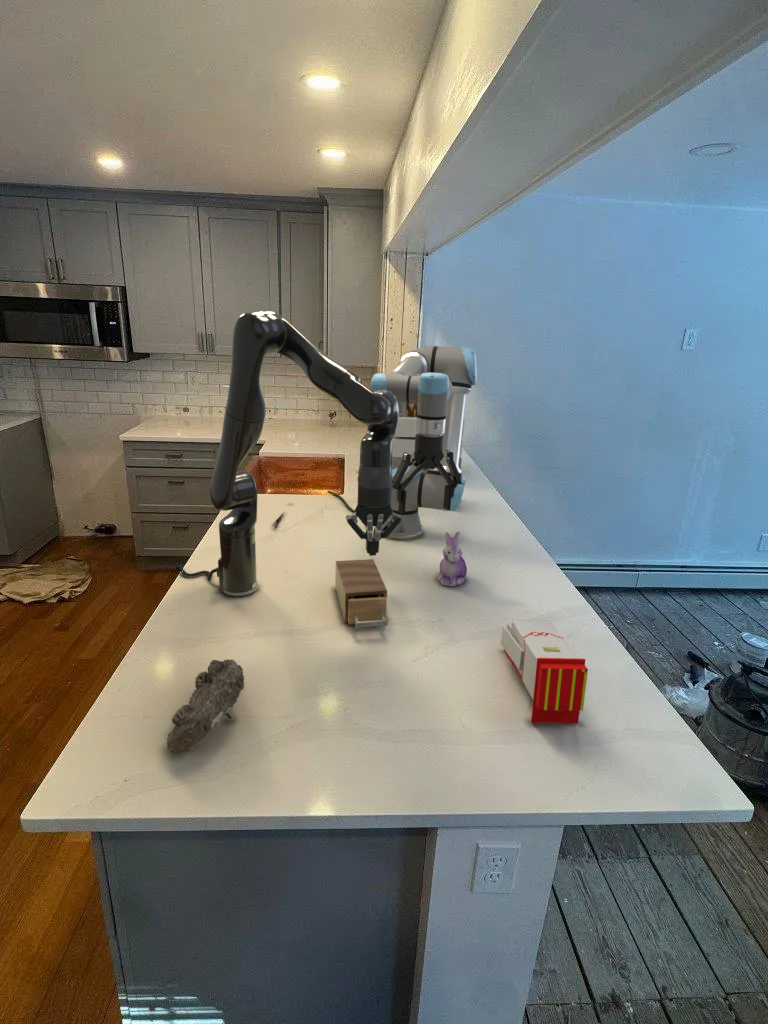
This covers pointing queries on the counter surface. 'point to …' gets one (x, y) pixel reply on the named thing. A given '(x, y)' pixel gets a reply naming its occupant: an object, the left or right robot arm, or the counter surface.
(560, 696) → the toy
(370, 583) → the cabinet
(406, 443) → the white slatted crate
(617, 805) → the counter surface
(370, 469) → the left robot arm
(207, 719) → the fossil
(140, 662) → the counter surface
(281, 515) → the feather
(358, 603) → the drawer
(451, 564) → the figurine
